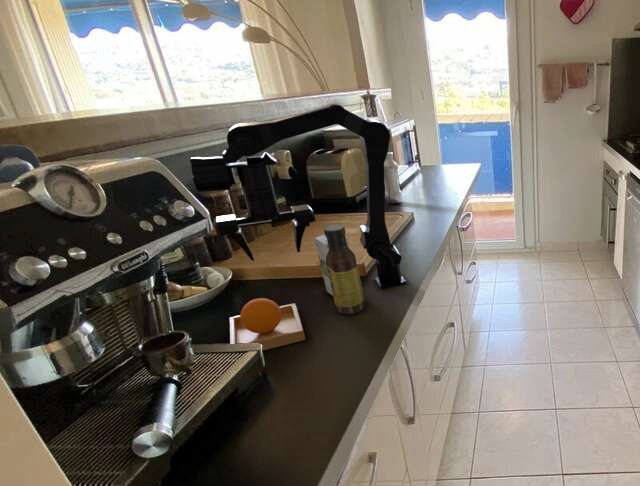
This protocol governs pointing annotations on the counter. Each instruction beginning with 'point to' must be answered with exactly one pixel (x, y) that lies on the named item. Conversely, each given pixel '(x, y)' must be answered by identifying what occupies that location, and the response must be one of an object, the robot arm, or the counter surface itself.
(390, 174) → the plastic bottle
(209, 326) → the counter surface
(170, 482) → the counter surface
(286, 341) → the tray
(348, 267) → the sauce bottle
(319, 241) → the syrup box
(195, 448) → the counter surface
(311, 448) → the counter surface
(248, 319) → the orange
